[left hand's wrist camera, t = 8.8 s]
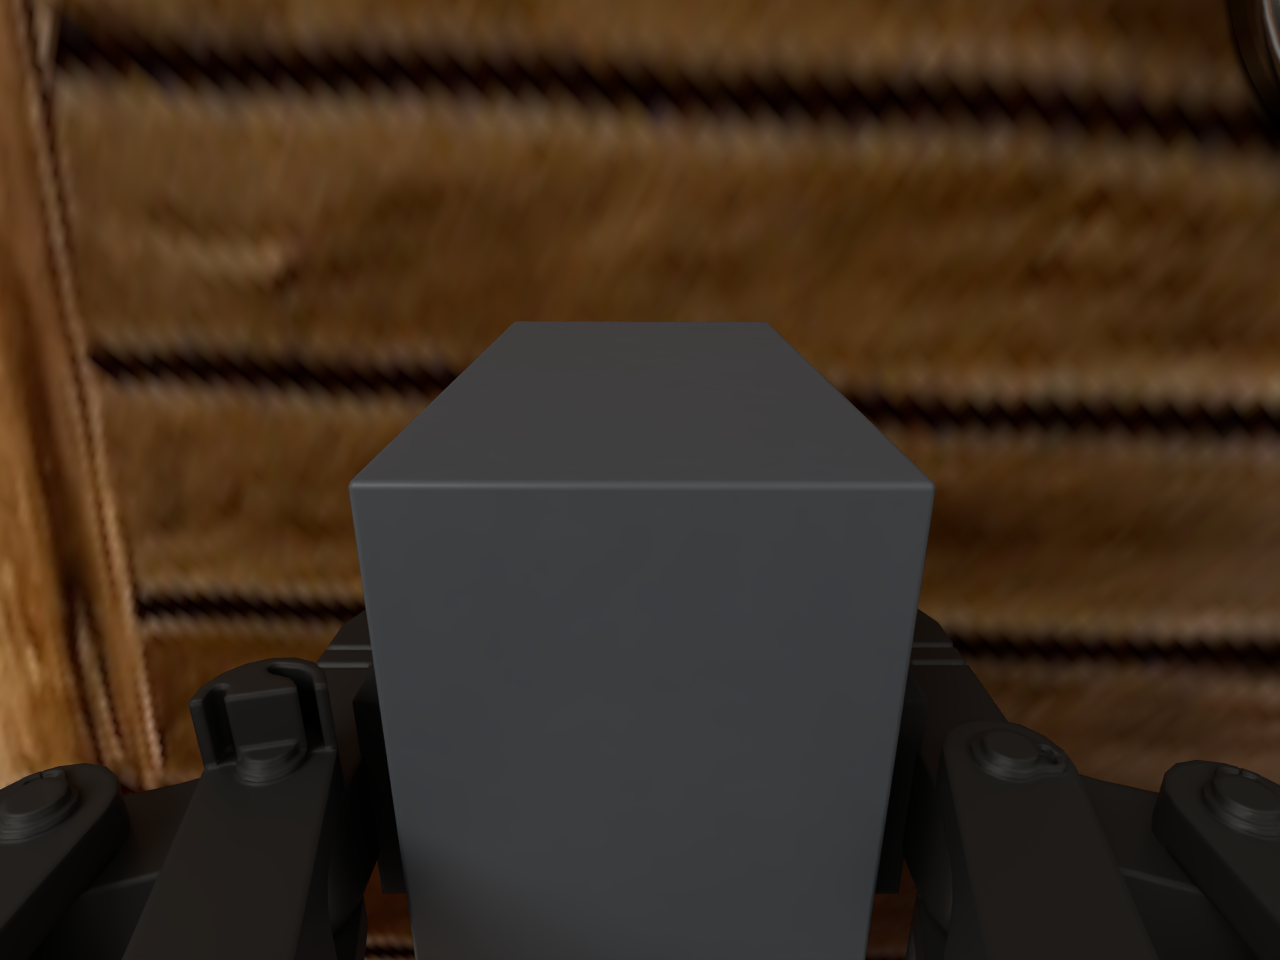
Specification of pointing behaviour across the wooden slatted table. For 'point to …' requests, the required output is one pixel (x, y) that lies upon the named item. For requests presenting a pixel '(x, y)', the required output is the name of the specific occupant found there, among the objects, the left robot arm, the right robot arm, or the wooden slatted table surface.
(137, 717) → the wooden slatted table surface
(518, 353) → the bar
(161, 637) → the wooden slatted table surface
